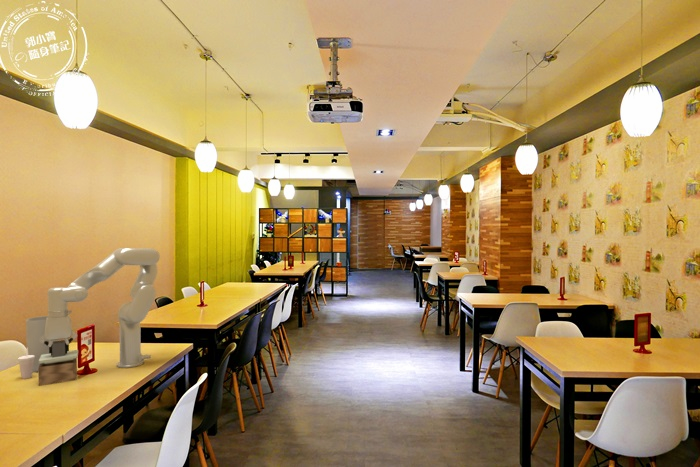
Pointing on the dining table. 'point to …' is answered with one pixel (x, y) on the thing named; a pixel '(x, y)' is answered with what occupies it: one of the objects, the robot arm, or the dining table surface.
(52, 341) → the robot arm
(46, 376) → the wooden box
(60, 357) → the lid
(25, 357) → the smoothie
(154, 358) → the dining table surface
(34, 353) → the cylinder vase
